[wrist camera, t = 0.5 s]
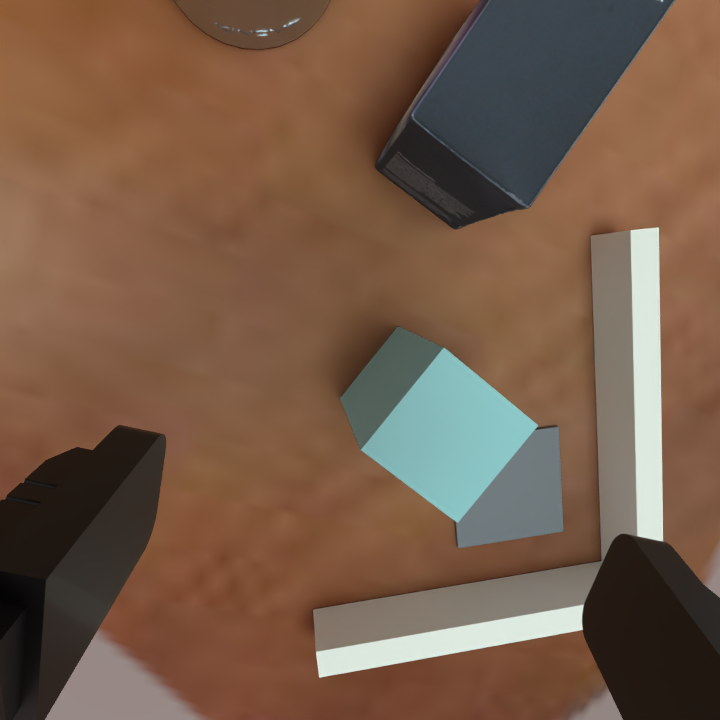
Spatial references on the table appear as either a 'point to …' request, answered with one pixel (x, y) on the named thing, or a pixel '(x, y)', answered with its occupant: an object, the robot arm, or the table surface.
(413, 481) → the teal block
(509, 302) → the table surface
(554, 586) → the white l-shaped bracket
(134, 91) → the table surface
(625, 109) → the table surface
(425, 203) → the small box
